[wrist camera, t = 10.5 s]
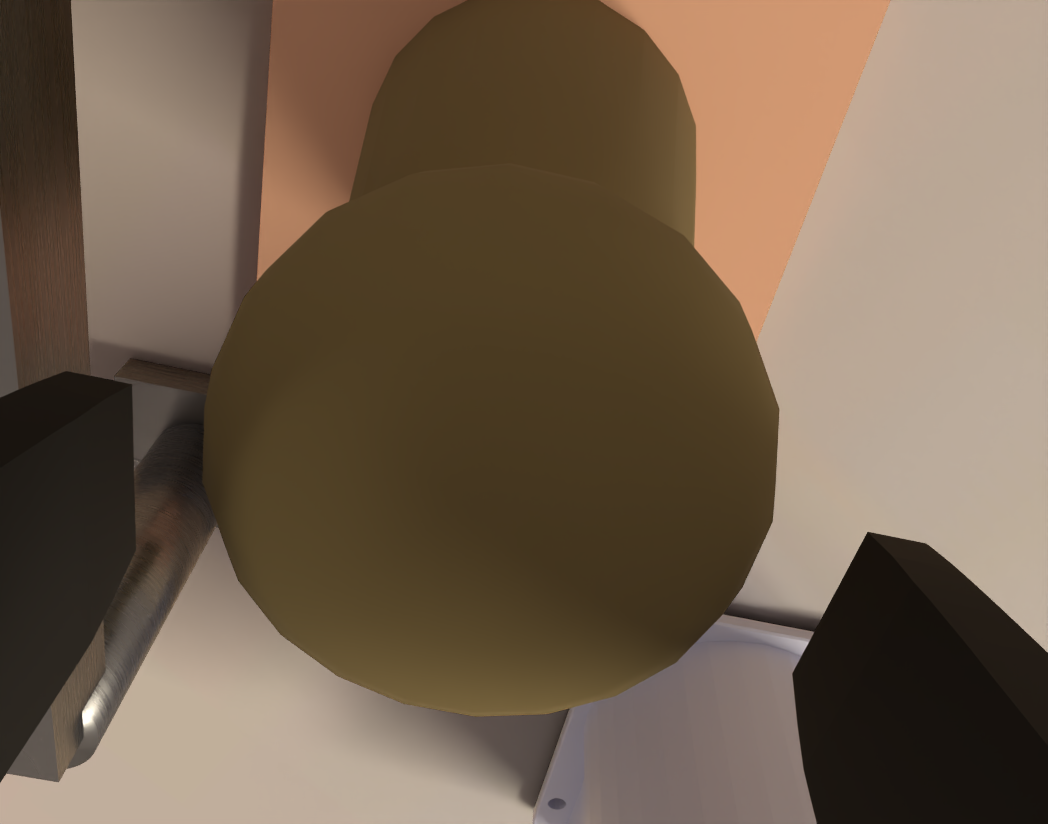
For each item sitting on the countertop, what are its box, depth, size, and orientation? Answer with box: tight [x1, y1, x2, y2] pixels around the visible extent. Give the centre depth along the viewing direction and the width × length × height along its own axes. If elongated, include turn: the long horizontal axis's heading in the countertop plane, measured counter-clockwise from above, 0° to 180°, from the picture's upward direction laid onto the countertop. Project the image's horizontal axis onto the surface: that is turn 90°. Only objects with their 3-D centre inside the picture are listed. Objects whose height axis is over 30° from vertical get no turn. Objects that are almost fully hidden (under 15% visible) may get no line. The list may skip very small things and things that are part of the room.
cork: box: [202, 0, 779, 717], centre depth 12 cm, size 6×6×11 cm
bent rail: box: [0, 0, 219, 782], centre depth 12 cm, size 24×26×9 cm
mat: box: [257, 0, 890, 342], centre depth 17 cm, size 10×10×1 cm
